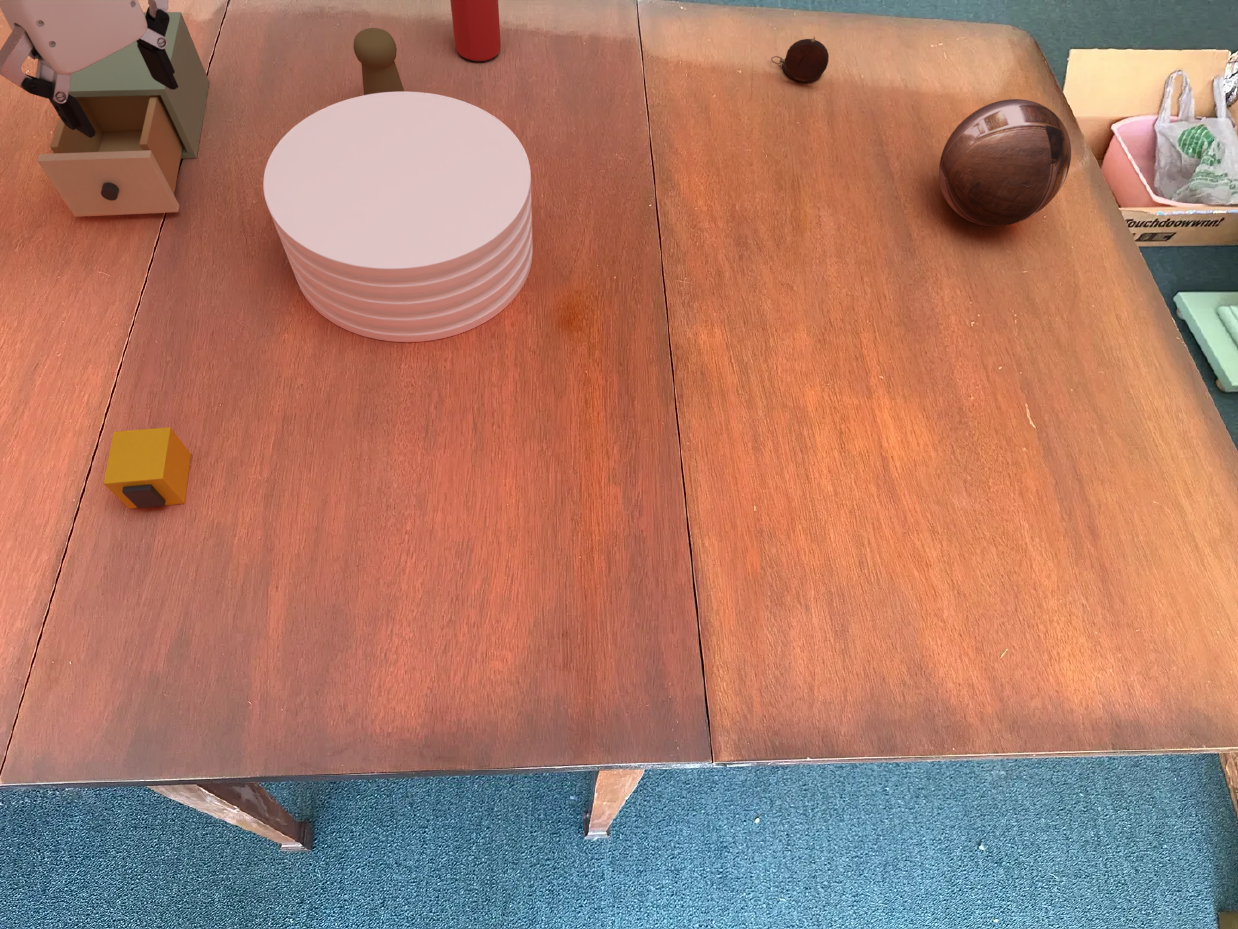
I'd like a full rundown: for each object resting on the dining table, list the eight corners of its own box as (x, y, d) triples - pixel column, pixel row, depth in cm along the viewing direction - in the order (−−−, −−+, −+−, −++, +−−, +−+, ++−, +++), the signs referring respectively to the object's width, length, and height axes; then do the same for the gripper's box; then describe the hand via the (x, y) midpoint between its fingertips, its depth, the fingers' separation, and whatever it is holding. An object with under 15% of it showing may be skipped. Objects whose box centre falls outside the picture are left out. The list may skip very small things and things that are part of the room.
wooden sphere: (900, 182, 107) (948, 80, 94) (992, 166, 110) (1051, 66, 97) (955, 259, 100) (1016, 162, 87) (1052, 240, 103) (1123, 143, 90)
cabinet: (196, 158, 99) (164, 88, 90) (89, 162, 97) (46, 91, 88) (209, 82, 106) (181, 11, 98) (110, 84, 104) (72, 12, 96)
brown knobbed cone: (376, 132, 104) (358, 54, 94) (358, 106, 106) (339, 27, 96) (418, 120, 106) (405, 41, 96) (399, 94, 108) (385, 15, 98)
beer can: (464, 67, 112) (455, -20, 102) (449, 41, 115) (439, -46, 105) (507, 59, 114) (503, -27, 104) (492, 33, 117) (486, -53, 106)
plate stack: (294, 356, 84) (260, 281, 75) (293, 181, 98) (264, 98, 88) (549, 327, 89) (549, 254, 79) (515, 164, 103) (511, 84, 93)
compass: (823, 63, 120) (838, 15, 113) (818, 93, 116) (833, 46, 109) (772, 52, 120) (784, 4, 114) (765, 82, 116) (778, 34, 110)
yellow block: (127, 514, 74) (101, 489, 69) (137, 458, 77) (113, 431, 72) (184, 509, 74) (161, 484, 70) (191, 454, 78) (170, 426, 73)
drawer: (177, 219, 92) (147, 164, 85) (72, 224, 90) (34, 168, 84) (192, 132, 100) (166, 76, 93) (96, 135, 98) (62, 78, 91)
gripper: (88, -137, 68) (171, 52, 82) (-107, -59, 60) (23, 134, 75) (147, -106, 66) (221, 81, 81) (-46, -23, 58) (75, 167, 73)
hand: (126, 106), depth 78 cm, fingers open, 9 cm apart
